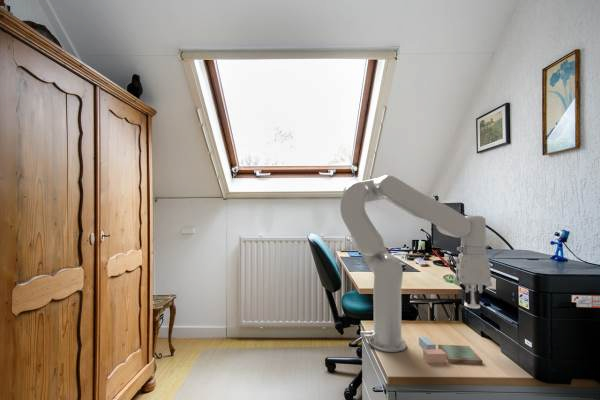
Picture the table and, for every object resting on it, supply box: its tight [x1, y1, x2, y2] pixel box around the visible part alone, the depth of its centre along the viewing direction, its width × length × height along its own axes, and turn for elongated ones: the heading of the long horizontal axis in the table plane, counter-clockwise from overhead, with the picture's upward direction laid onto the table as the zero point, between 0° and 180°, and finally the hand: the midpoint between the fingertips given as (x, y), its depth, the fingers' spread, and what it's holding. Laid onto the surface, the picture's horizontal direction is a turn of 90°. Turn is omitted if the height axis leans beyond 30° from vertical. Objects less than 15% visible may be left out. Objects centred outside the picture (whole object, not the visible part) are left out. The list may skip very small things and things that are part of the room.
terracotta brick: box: [422, 348, 447, 364], centre depth 99 cm, size 6×3×3 cm, turn 92°
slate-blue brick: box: [418, 336, 437, 351], centre depth 107 cm, size 6×3×3 cm, turn 3°
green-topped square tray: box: [437, 344, 483, 365], centre depth 102 cm, size 10×10×1 cm
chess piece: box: [463, 284, 481, 309], centre depth 110 cm, size 5×5×10 cm
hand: (472, 302), depth 110 cm, fingers closed on chess piece
